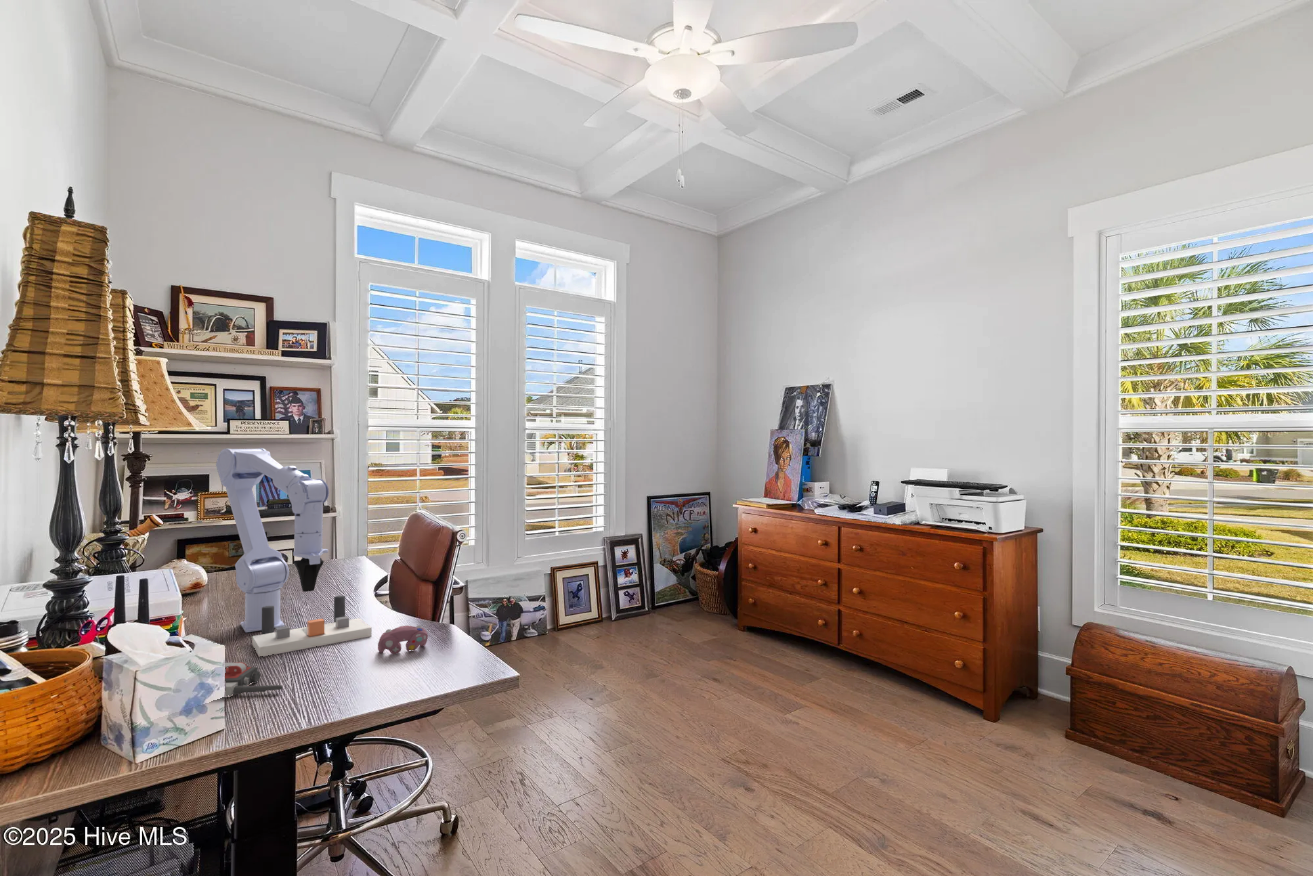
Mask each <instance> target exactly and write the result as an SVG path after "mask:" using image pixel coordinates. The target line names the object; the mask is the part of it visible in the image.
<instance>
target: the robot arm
mask: <svg viewBox="0 0 1313 876" xmlns="http://www.w3.org/2000/svg"><path fill="white" fill-rule="evenodd" d="M271 455H272V454H271V452H270V451H269V450H267V449H265V448H263V447H258V448H223V449H221V450H220V452H219V454H218V456H217V460H216V463H215V467H216V470H217V473H218V476H219V477H218V478H219V480H220V483H221V485H222V486H223V487H225V491H226V494H227V498H228V501H229V504H230V507H231V508H230V509H231V513H232V514H233V520H234V523H235V526H236V529H237V533H238V536H239V539H240V543H241V546H242V549H243V555H242V556H241V557H240V558H239V559H238V560H237V562H235V565H234V567H235V582H236V585H237V587H238V588H239V590H240V591H242V593H244V594H245V596H244V600H245V601H244V613H245V614H244V621H241V622H240V626H241V628H242V629H243V631H244V632H245V633H251V632H258V631H262V607H265V606H274V629H276V628H278V627H284V626H285V623H284V622H283V620H282V619H281V588H283V587H284V584H285V583H286V582H287V581H288V579H289V576H290V569H289V565H288V564H287V562H286V561H285V560H284V558H283V555H282V552H280V551H278V550H276V549H275V548H272V547H270V545H269V541H268V538H267V535H266V531H265V528H264V525H263V521H262V519H261V516H260V515H261V514H260V511H259V509H258V504H257V501H256V497H255V496H254V495H255V494H254V491H253V487H254V486H256V485H258V484H259V483H260V482H261V481H262V479H263V477H264V476H266V477H269V478H270V479H271V480H272V484H273V485H274V487H275V488H276V489H278V490H280V491H282V492H283V493H284V494H286V495H287V496H288V499H289V501H290V503H291V511H292V514H294V535H293V536H294V538H293V539H294V542H293V543H294V545H293V546H294V547H293V553H292V554H293V556H294V557H298V558H300V559H297V560H293V561H292V563H293V565H294V566H295V568H296V570H297V573H298V576H299V581H300V586H301V590H302V592H304V593H306V592H314V591H315V588H316V584H317V580H318V576H319V572H320V570H321V568H322V566H323V564H324V560H323V559H322V558H321V557H322V555H323V554H327V553H329V549H327V548H323V546H324V545H323V543H324V542H323V541H324V540H323V536H324V534H323V533H324V532H323V530H324V529H323V528H324V527H323V525H324V523H323V522H324V519H323V517H324V514H323V513H324V503H326V501H328V499H329V494H330V490H329V485H328V483H327V482H326V481H325V480H324V479H322V478H316V479H314V478H311V477H310V476H309V475H308V474H305V473H303V472H302V471H300V470H298V467H297V466H295V465H287V466H286V465H285V466H283V465H282V464H281V463H279V462H278V461H277V460H275V459H274V458H273V457H272V456H271Z"/></svg>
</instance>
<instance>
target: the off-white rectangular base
mask: <svg viewBox="0 0 1313 876" xmlns="http://www.w3.org/2000/svg"><path fill="white" fill-rule="evenodd" d="M372 635H373V634H372V626H370V625H369V624H368V623H367V622H365V621H364V620H363V619H361V618H360V617H359V618H351V619H350V618H349V616H347V615H345V617H339V618H336V622H334V621H333V622H327V623H324V634H321V635H316V636H310V637H309V636H308V635H307V626H305V627H299V628H293V629H291V627H290V626H289V625H286V626H283V627H277V628H275V631H274V633H268V634H262V633H261V634H257V635H253V636H251V637H252V639H251V641H252V643H251V644H252V648H253V649H254V648H255V649H254V650H256V651H255V652H256V654H257V655H258V657H259V658H261V657H260V656H263V657H267V656H268V655H269V656H273V655H272V654H274V655H278V654H283V653H289V652H295V651H300V650H304V649H311V648H315V647H316V646H317V647H321V646H328V645H332V644H338V643H341V642H343V643H344V642H348V641H353V640H358V639H365V638H370V637H372Z"/></svg>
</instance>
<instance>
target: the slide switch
mask: <svg viewBox="0 0 1313 876" xmlns="http://www.w3.org/2000/svg"><path fill="white" fill-rule="evenodd" d="M306 623H307V625H306V627H307V635H308V636H309V637H310V636H316V635H321V634H324V624H325V620H324V618H318V619H311V620H310V619H309V620H306Z"/></svg>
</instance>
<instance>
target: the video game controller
mask: <svg viewBox="0 0 1313 876" xmlns="http://www.w3.org/2000/svg"><path fill="white" fill-rule="evenodd" d="M428 637H429V634H428V632H427V630H426V629H425V628H424V627H423V626H422V625H417V626H414V625H401V626H398V627H395V628H393V629H389V628H388V629H386V630H385V632H383V633H382V634H381V636H380V637H379V640H378V642H377V650H378V652H379V654H380V653H383V652H385V650H387V651H389V652H390V653H391V654H392V655H396V653H397V654H399V653H400V652H401V651H402V644H401V643H402V642H406V643H405V649H406V651H407V652H409V650H415V649H416V650H417V649H418V647H419V646H420V647H422V646H423V647H424V646H426V644H427V642H428ZM416 650H415V651H416Z"/></svg>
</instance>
